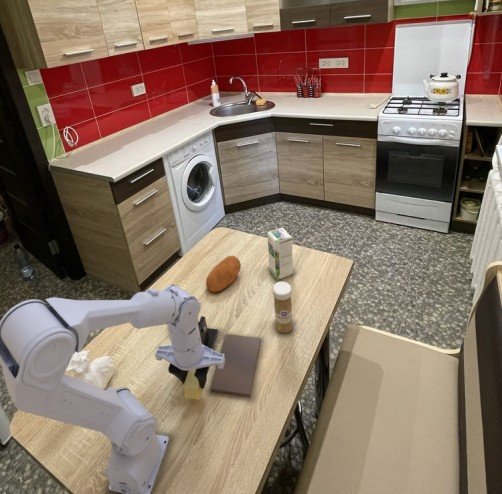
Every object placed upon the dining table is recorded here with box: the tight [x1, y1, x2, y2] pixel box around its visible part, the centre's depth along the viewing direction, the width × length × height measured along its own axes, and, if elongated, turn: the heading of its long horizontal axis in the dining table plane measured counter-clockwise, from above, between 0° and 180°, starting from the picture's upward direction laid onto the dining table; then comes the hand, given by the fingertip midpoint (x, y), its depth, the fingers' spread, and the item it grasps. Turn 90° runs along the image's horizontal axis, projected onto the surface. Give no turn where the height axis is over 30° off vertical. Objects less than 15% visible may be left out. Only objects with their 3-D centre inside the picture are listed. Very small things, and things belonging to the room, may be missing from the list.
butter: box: [182, 369, 204, 401], centre depth 75 cm, size 5×3×4 cm, turn 169°
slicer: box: [198, 315, 219, 350], centre depth 85 cm, size 10×8×9 cm
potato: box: [205, 255, 242, 293], centre depth 106 cm, size 7×13×7 cm, turn 137°
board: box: [209, 333, 261, 398], centre depth 82 cm, size 14×9×1 cm, turn 169°
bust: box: [65, 349, 115, 390], centre depth 78 cm, size 12×8×11 cm
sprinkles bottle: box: [272, 281, 293, 334], centre depth 88 cm, size 5×5×14 cm
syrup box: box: [266, 227, 294, 281], centre depth 106 cm, size 6×6×14 cm
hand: (195, 382), depth 75 cm, fingers closed on butter, 3 cm apart
